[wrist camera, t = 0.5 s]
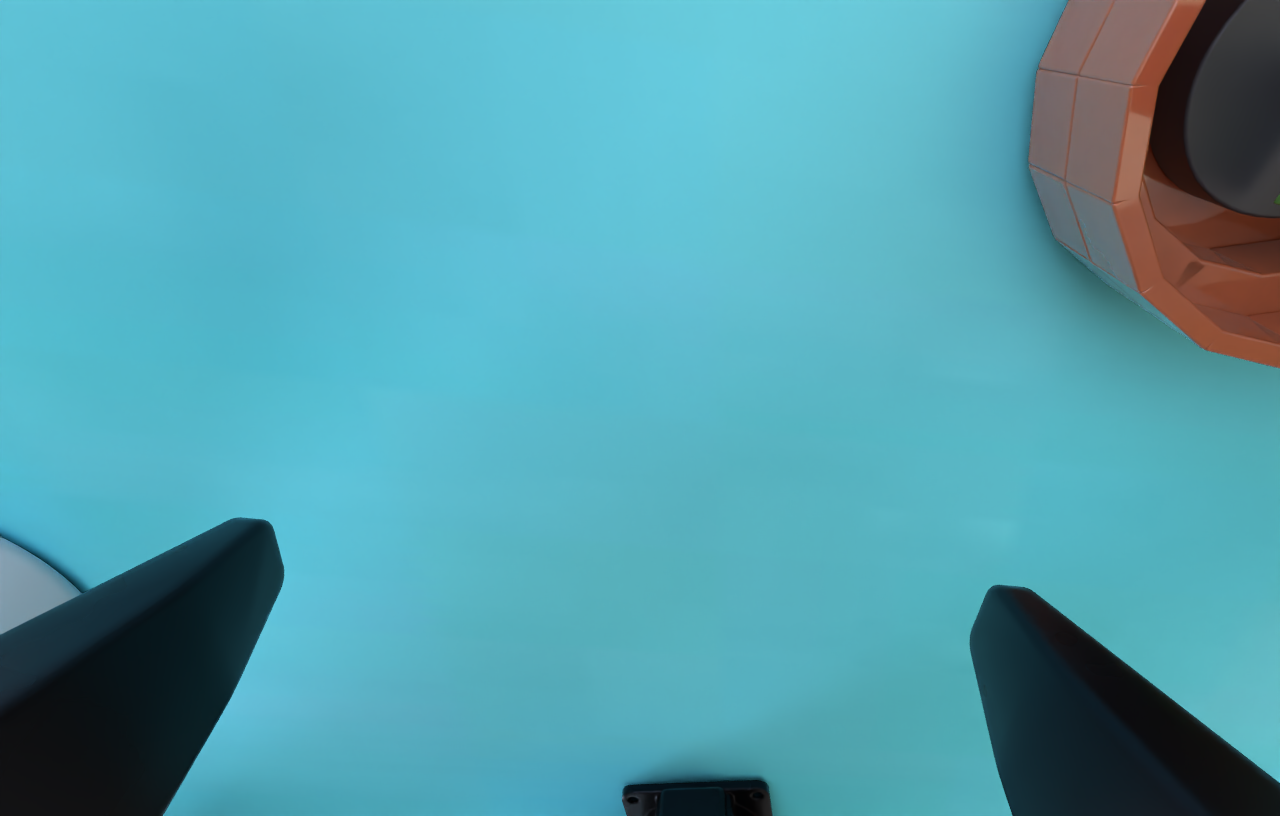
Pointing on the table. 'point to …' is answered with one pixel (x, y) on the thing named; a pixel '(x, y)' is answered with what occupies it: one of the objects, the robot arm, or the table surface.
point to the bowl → (1145, 183)
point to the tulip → (1224, 108)
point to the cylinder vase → (28, 586)
